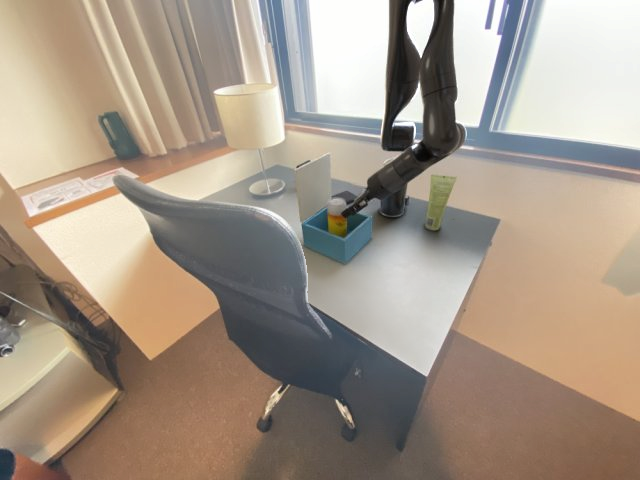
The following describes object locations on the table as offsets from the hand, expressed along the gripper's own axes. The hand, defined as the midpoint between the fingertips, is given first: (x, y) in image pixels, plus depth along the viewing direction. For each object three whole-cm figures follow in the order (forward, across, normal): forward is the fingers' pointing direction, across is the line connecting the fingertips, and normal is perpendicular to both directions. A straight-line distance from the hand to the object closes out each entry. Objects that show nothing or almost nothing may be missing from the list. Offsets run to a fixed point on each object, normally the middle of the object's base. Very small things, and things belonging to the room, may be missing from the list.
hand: (349, 208), depth 83 cm
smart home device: (+22, -24, -2) cm, 33 cm away
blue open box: (+13, 0, +7) cm, 15 cm away
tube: (-6, -22, +26) cm, 35 cm away
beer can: (+12, 0, +6) cm, 14 cm away
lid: (+6, -1, -12) cm, 13 cm away
